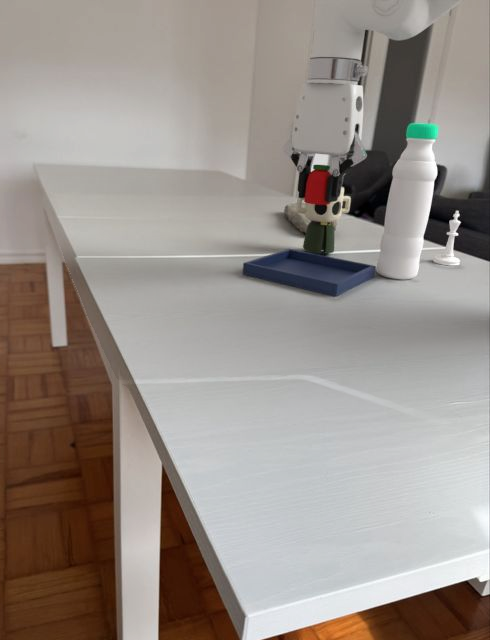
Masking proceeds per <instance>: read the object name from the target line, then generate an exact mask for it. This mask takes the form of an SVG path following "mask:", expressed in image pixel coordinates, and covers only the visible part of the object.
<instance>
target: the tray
mask: <svg viewBox="0 0 490 640" xmlns="http://www.w3.org/2000/svg"><path fill="white" fill-rule="evenodd" d="M376 267H377V265H373V264H367V263H363V262H362V263H361V262H358V261H353V260H347V259H342V258H337V257H333V256H327V255H322V254H319V253H311V252H308V251H304V250H303V251H302V250H297V249H292V248H286V249H283V250H280V251H277V252H273V253H271V254H267V255H264V256H262V257H257V258H255V259H252V260H248V261H245V262H243V264H242V275H244V276H249V277H252V278H257V279H261V280H264V281H269V282H274V283H277V284H280V285H281V284H282V285H286V286H290V287H295V288H298V289H303V290H307V291H310V292H315V293H320V294H324V295H327V296H332V297H338V296H340V295H342V294H344V293H345V292H348V291H349V290H352V289H353V288H356V287H358V286H360V285H361V284H363V283H366V282H367V281H369V280H371V279H373V278H375V274H376Z"/></svg>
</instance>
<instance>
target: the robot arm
mask: <svg viewBox="0 0 490 640" xmlns="http://www.w3.org/2000/svg"><path fill="white" fill-rule="evenodd" d="M461 2H463V0H315V3H314V13H313V23H312V30H311V31H312V32H311V40H310V51H309V60H308V69H307V78H306V83H305V82H304V83H302V87H301V90H300V93H299V96H298V100H297V105H296V109H295V114H294V120H293V125H292V134H291V136H290V137H289V138H288V140H287V142H286V143H285V144H284V145H283V147H282V150H283V152H284V154H285V155H287V157H289V158H290V160H291V161H292V163H293V164H294V166H295V167H296V171H297V172H298V182H297V192H298V196H297V198H298V197H299V198H305V191H306V182H307V179H308V176H309V174H310V173H311V172H312V168H313V164H314V160H315V157H316V154H317V155H326V156H330V161H331V176H329V177H328V182H327V190H326V198H325V201H326V202H334V201H337V199H338V197H339V196H340V193H341V187H342V184H343V176H345V175H346V174H347V172H349V171H350V170H351V169H353V168H354V167H355V166H356V165H358V164H359V163H361V162H363V161H365V160H366V159H367V157H368V153H367V151H366V149H365V147H364V144H363V142H362V137H363V125H364V124H363V123H364V86H363V85H359V84H358V83H359V82H360V78H362V77H366V76H367V75H368V74H369V73H368V72H369V66H368V65H363V63H362V55H363V49H364V39H365V33H366V31H371V32H372V31H373V32H376V33H378V34H381V35H383V36H385V38H389V39H390V40H392V41H405V40H409V39H411V38H414V37H415V36H417V35H419V34H420V33H422V32H423V31H424V30H426V29H427V28H429V27H430V26H431V25H433V24H434V23H436V22H437V21H438V20H440V18H442V17H443V16H444V15H446V14H447V13H448V12H450V11H452V9H454V8H456V7H457V5H459V4H460V3H461ZM350 155H351V156H350ZM347 156H349V158H347Z"/></svg>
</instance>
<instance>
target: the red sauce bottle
mask: <svg viewBox="0 0 490 640" xmlns="http://www.w3.org/2000/svg"><path fill="white" fill-rule="evenodd" d="M312 169H313V170H311V173H310V174H309V176H308V179H307V182H306V191H305V199H304V200H303V203H309V204H317V205H328V204H330V202H326V201H325V198H326V190H327V182H328V177H329V176H331V175H332V172H330V169H331V166H330V165H327V164H312Z"/></svg>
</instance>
